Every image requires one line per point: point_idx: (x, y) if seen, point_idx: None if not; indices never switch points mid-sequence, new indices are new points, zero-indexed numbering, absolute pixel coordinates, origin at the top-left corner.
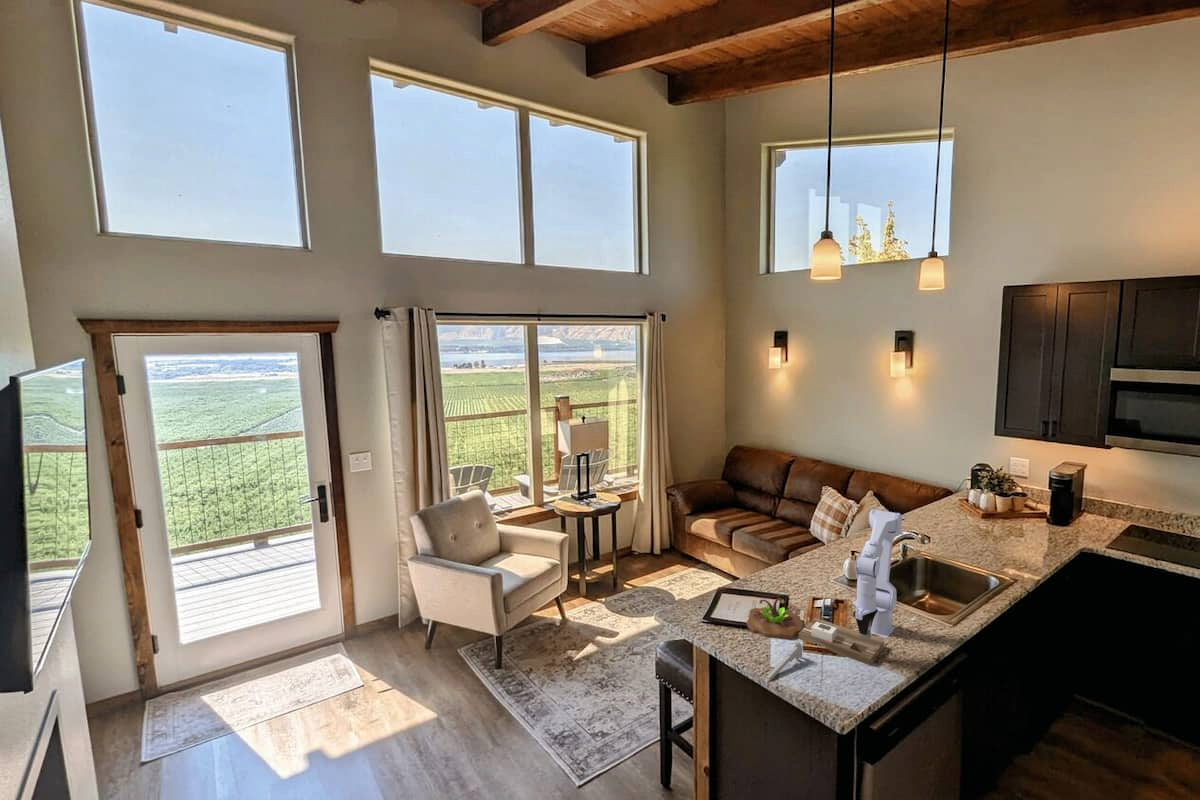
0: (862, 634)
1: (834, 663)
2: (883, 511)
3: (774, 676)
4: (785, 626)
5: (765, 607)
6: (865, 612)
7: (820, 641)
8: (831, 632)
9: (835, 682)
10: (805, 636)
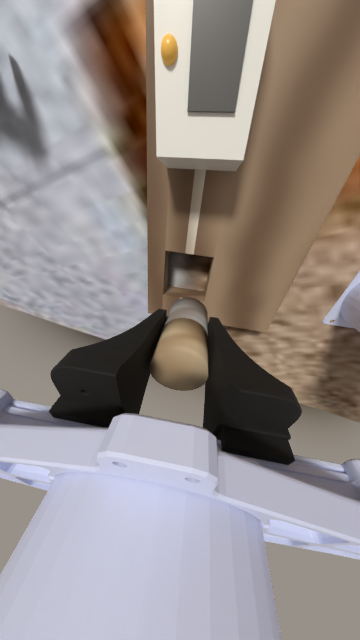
0: (168, 314)
1: (98, 215)
2: None
3: None
4: None
5: None
6: (17, 481)
7: (147, 97)
8: (172, 145)
9: (26, 243)
10: None
